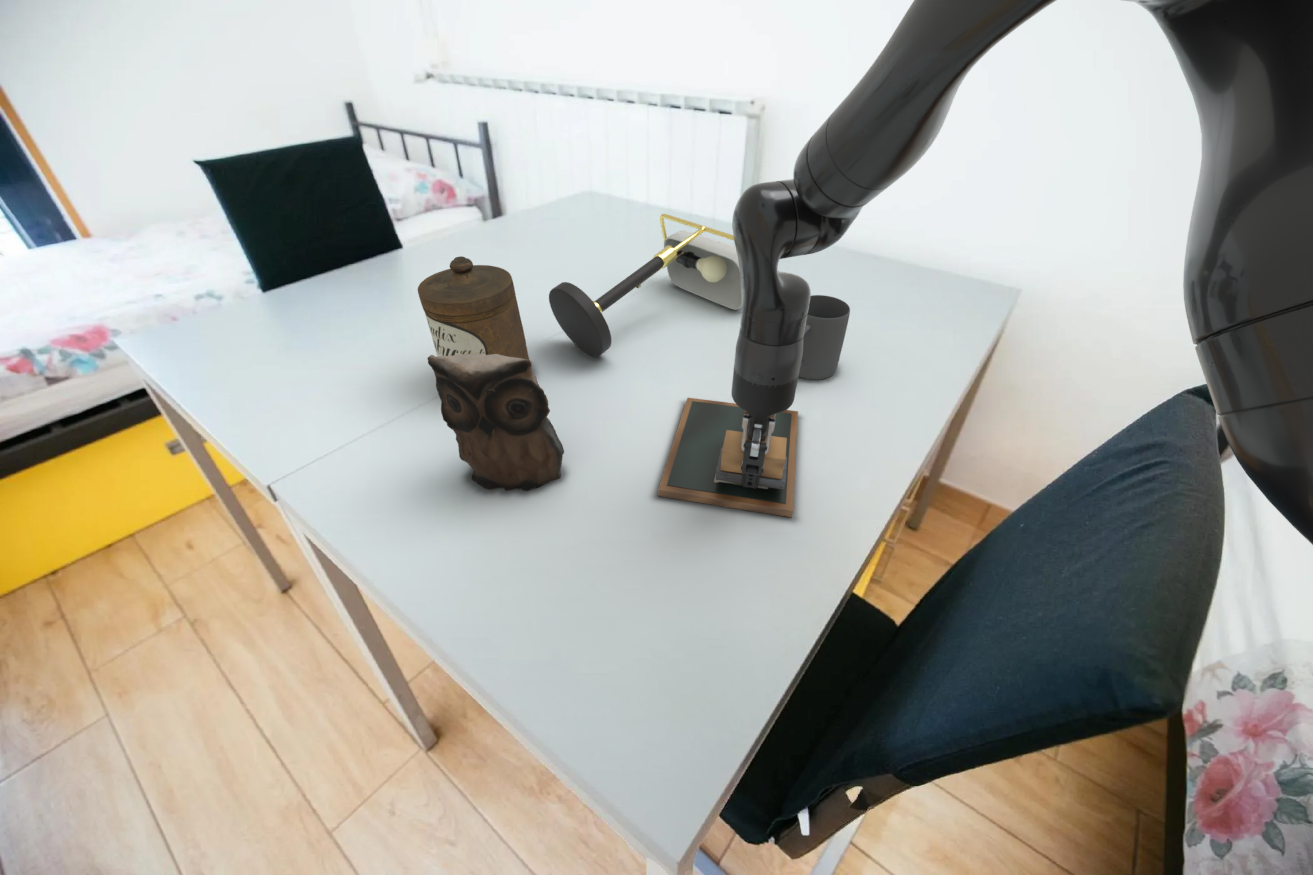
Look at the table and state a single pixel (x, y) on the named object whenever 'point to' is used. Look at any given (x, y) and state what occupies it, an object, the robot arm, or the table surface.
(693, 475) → the board
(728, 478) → the eraser
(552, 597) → the table surface
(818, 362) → the mug
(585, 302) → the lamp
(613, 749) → the table surface
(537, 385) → the owl
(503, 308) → the wooden container
